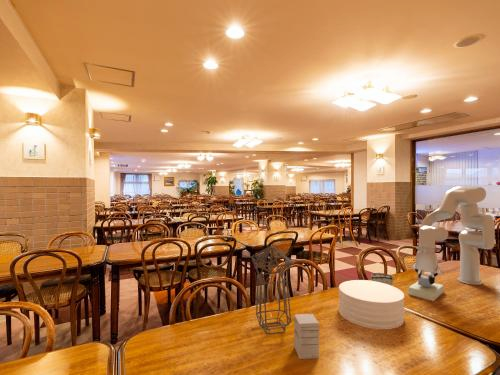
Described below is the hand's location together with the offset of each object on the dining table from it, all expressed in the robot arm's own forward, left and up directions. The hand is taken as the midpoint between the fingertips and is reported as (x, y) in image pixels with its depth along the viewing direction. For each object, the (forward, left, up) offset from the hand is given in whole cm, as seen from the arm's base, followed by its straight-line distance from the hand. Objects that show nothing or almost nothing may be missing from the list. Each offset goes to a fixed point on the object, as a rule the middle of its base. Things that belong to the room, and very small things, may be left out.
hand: (426, 282), depth 160 cm
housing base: (0, 0, -1) cm, 1 cm away
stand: (0, 0, -6) cm, 6 cm away
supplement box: (+95, -11, -6) cm, 96 cm away
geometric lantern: (+92, -31, -6) cm, 97 cm away
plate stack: (+48, -9, -7) cm, 49 cm away
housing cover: (0, 0, +3) cm, 3 cm away
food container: (+17, -18, -6) cm, 26 cm away
